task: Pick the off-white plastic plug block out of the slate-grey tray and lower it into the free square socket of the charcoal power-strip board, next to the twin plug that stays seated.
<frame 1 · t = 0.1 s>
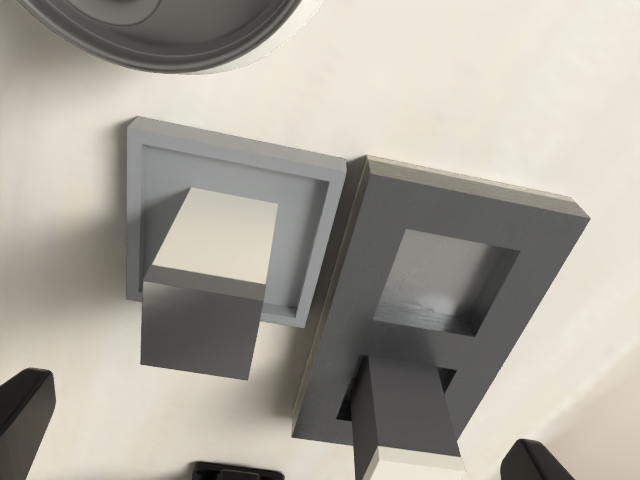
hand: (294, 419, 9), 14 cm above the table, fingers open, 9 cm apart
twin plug: (390, 375, 29), resting on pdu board
tray: (231, 225, 24), on the table
plug: (230, 231, 23), point 1 cm above the table, touching tray
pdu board: (410, 320, 27), on the table
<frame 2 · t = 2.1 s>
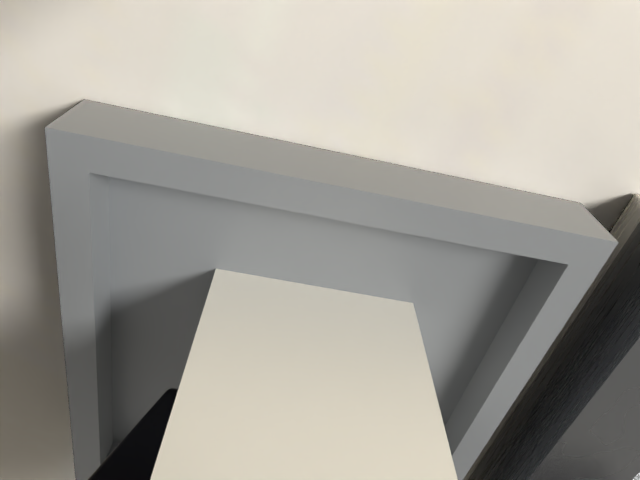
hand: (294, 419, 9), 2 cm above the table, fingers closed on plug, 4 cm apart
tray: (298, 337, 11), on the table
plug: (297, 356, 11), point 1 cm above the table, touching gripper, tray
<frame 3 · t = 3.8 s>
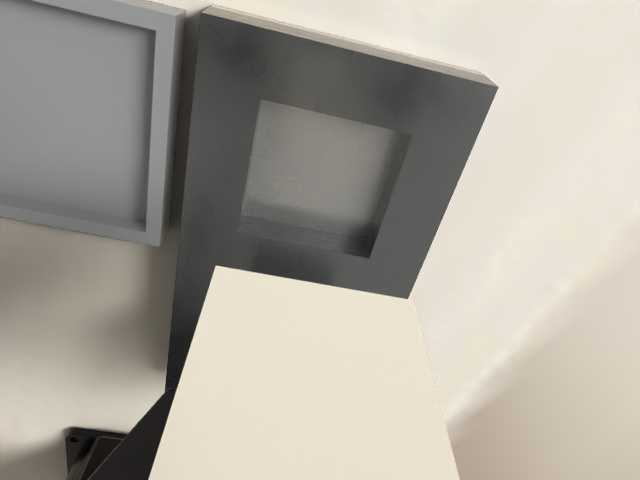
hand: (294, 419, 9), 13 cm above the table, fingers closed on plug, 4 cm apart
tray: (55, 107, 19), on the table
plug: (297, 354, 11), point 11 cm above the table, touching gripper
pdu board: (299, 244, 22), on the table
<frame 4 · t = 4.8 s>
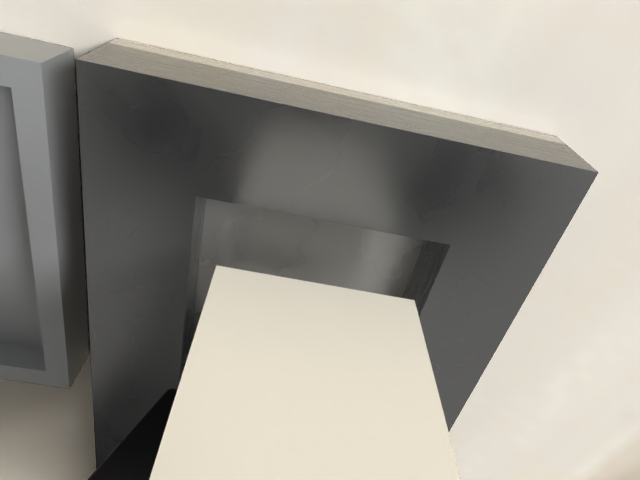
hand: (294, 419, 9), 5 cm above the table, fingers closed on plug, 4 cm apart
plug: (298, 354, 11), point 3 cm above the table, touching gripper
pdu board: (279, 368, 15), on the table
when the fingers open (2 cm above the table, at t = 5.5 s): plug stays where it is, resting on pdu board.
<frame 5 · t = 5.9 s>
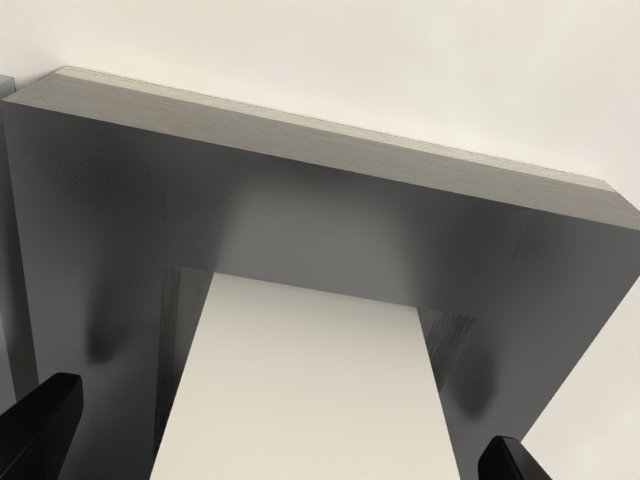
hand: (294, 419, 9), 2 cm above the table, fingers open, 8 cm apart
plug: (298, 341, 11), resting on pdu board
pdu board: (272, 432, 13), on the table
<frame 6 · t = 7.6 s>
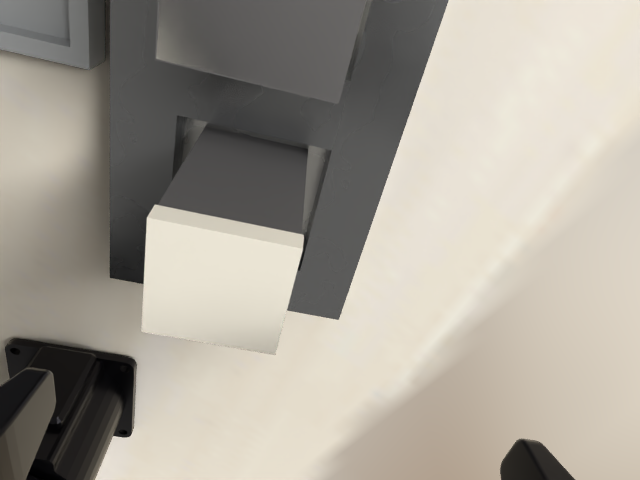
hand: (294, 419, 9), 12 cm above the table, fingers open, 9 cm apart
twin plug: (249, 183, 20), resting on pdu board
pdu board: (267, 82, 18), on the table
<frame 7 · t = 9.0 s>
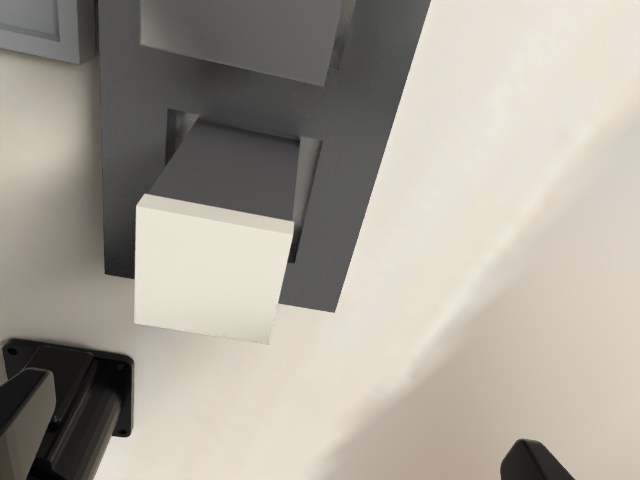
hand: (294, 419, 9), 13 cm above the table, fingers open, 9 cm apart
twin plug: (242, 176, 20), resting on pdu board
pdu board: (258, 75, 18), on the table
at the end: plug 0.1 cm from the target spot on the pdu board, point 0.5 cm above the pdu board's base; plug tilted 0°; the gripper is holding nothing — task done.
